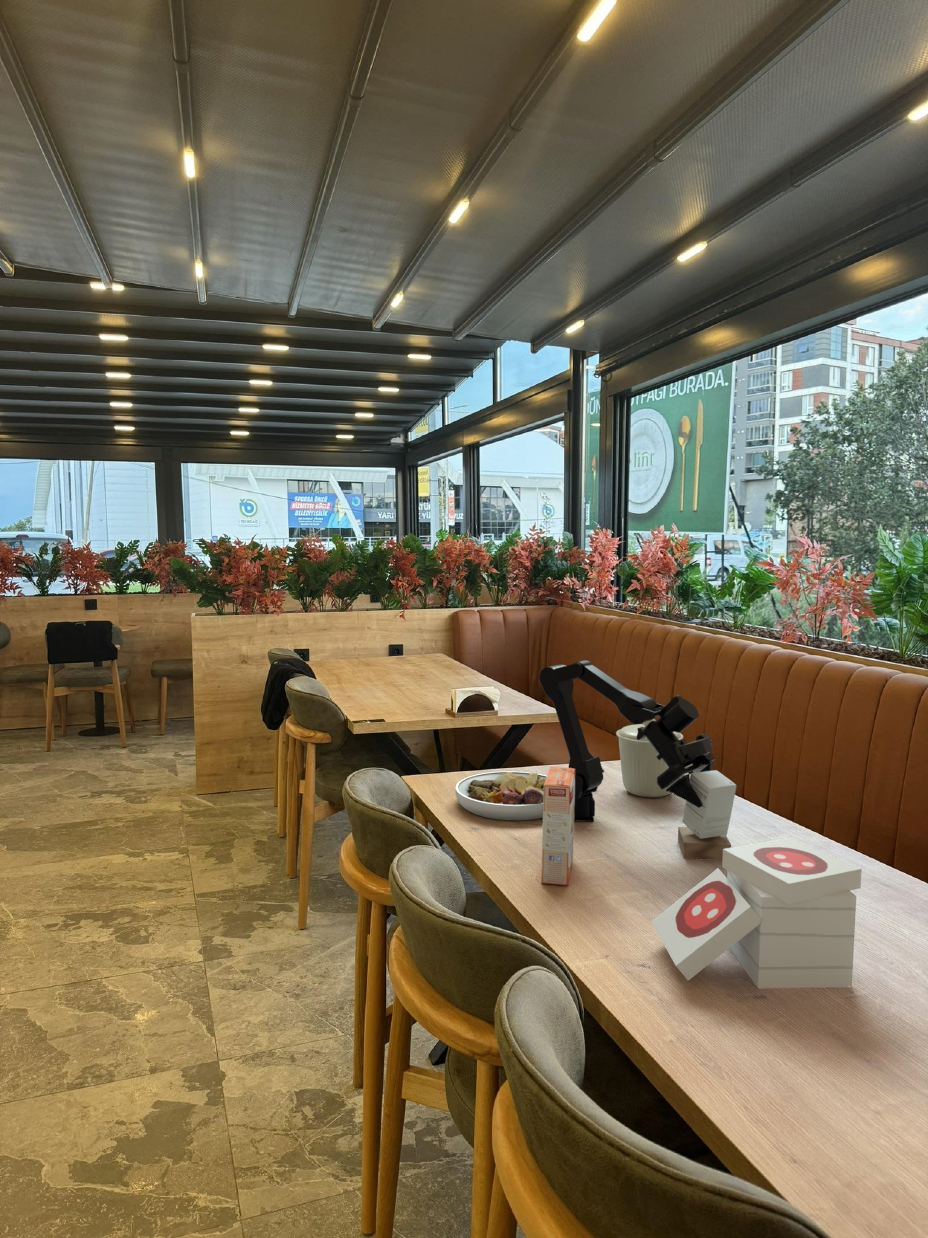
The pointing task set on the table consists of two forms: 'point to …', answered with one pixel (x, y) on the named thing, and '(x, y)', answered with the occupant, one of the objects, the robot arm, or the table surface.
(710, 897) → the pizza boxes
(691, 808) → the supplement box
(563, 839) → the cracker box
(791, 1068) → the table surface
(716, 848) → the walnut riser block
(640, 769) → the canister
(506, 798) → the bowl
